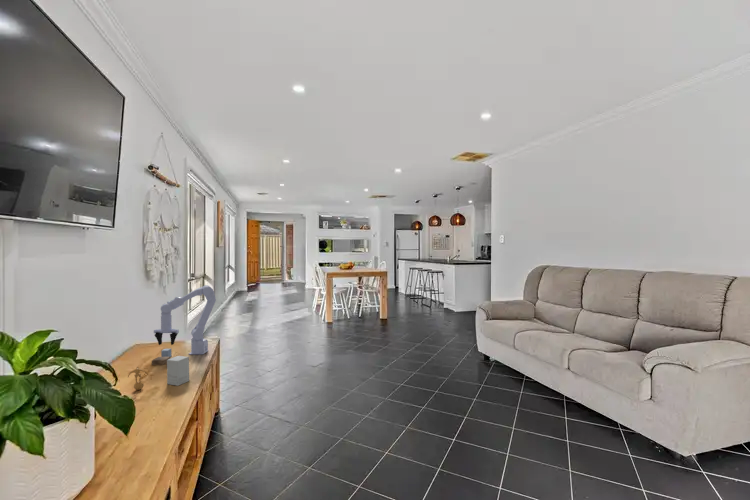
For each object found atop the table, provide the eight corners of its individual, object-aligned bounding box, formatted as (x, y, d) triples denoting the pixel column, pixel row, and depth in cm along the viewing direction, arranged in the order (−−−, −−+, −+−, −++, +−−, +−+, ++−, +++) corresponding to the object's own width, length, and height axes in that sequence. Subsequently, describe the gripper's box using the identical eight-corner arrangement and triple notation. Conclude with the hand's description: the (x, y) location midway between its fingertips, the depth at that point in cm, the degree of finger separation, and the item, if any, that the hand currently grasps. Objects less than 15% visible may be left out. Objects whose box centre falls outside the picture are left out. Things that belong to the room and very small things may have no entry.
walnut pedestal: (170, 361, 217) (170, 356, 217) (163, 365, 210) (163, 360, 210) (158, 361, 217) (158, 356, 217) (151, 365, 210) (151, 360, 210)
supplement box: (189, 380, 186) (189, 356, 186) (177, 386, 179) (177, 361, 179) (178, 379, 188) (178, 355, 188) (166, 384, 181) (166, 359, 181)
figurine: (149, 386, 178) (149, 363, 178) (147, 391, 172) (146, 366, 172) (129, 389, 175) (129, 365, 174) (126, 394, 169) (126, 369, 169)
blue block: (171, 356, 226) (171, 348, 226) (167, 358, 222) (167, 350, 222) (165, 356, 226) (165, 348, 226) (161, 358, 222) (161, 350, 222)
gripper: (150, 324, 220) (150, 346, 220) (174, 324, 220) (174, 346, 220) (157, 321, 227) (157, 343, 227) (180, 321, 227) (180, 343, 227)
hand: (166, 344), depth 224 cm, fingers open, 7 cm apart
